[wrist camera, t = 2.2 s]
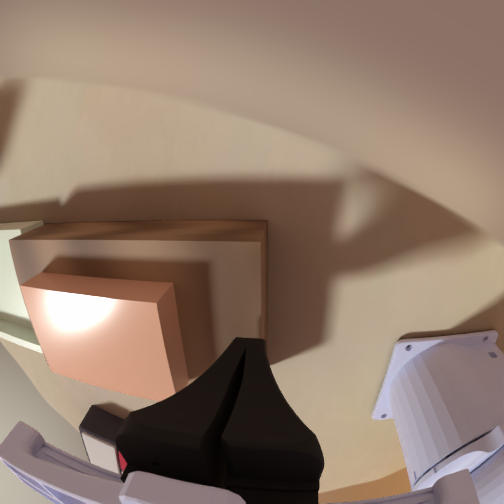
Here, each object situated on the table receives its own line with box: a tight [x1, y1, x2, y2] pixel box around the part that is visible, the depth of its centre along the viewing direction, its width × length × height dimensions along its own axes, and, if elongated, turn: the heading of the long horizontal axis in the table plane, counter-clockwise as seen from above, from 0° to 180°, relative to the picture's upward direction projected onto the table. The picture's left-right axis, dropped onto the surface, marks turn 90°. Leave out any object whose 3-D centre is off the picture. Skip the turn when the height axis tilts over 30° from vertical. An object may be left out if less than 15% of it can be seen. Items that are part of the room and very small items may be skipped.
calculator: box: [79, 405, 127, 475], centre depth 24 cm, size 11×4×15 cm
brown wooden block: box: [9, 220, 268, 386], centre depth 17 cm, size 16×10×4 cm, turn 91°
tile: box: [20, 272, 189, 401], centre depth 14 cm, size 9×6×2 cm, turn 91°
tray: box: [0, 220, 44, 353], centre depth 19 cm, size 13×11×2 cm
